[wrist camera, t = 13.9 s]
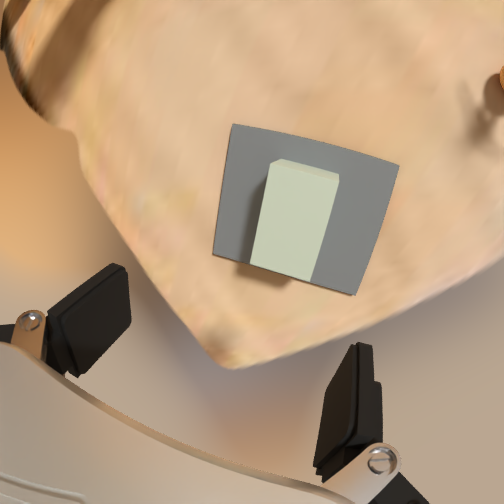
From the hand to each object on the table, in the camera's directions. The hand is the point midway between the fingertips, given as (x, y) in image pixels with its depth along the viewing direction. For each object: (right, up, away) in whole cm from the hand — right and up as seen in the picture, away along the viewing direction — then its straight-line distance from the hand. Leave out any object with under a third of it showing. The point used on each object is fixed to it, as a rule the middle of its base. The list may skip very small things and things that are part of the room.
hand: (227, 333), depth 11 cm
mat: (+6, +7, +17) cm, 20 cm away
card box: (+5, +7, +17) cm, 19 cm away
